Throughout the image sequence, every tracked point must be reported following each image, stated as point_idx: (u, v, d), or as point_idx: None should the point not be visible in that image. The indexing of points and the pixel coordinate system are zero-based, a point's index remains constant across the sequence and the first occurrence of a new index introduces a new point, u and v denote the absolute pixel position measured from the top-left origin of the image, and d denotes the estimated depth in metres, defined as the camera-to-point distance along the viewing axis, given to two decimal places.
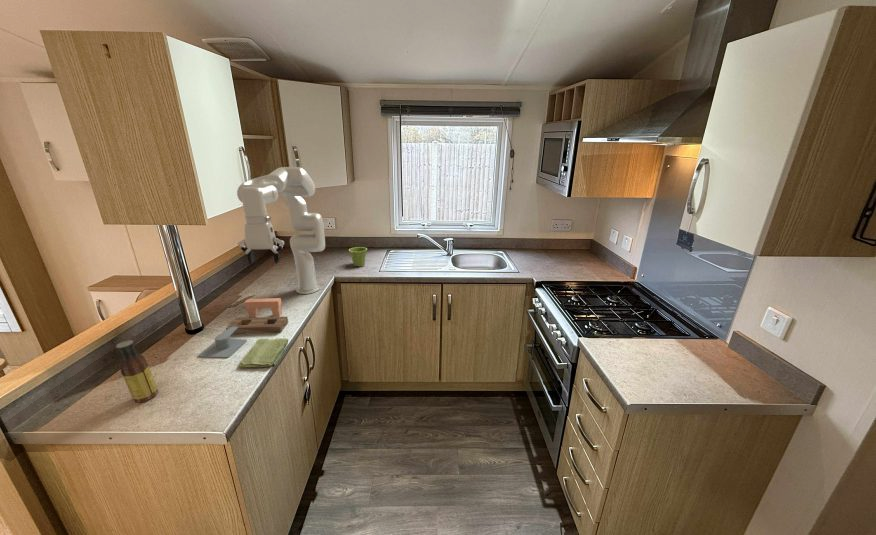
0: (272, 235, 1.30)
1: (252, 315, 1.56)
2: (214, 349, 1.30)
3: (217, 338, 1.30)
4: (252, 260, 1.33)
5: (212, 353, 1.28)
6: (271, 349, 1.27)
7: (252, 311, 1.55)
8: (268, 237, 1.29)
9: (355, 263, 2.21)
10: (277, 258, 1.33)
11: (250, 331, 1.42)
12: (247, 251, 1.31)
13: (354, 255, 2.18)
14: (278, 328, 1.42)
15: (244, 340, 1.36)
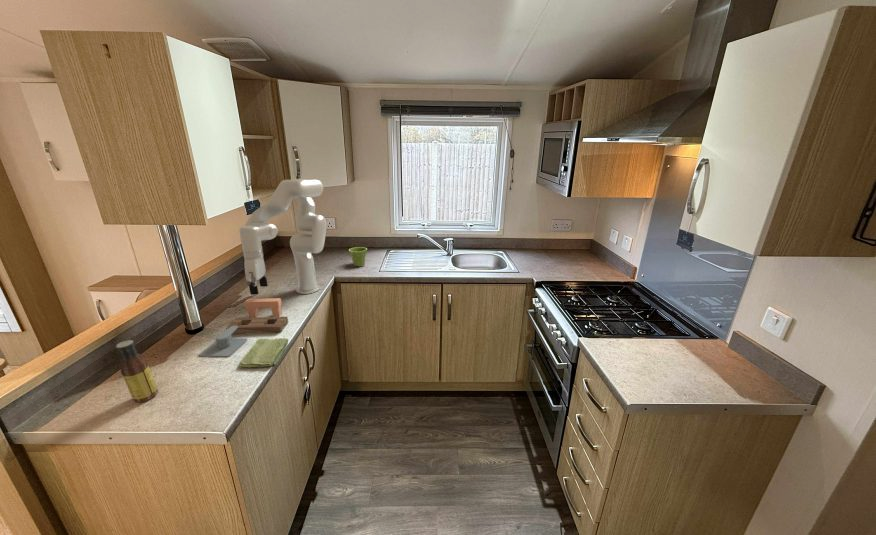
0: None
1: (252, 315, 1.56)
2: (215, 348, 1.31)
3: (218, 337, 1.30)
4: None
5: (213, 352, 1.28)
6: (271, 349, 1.27)
7: (252, 311, 1.55)
8: (264, 265, 1.53)
9: (355, 263, 2.21)
10: None
11: (250, 331, 1.42)
12: (255, 283, 1.46)
13: (354, 255, 2.18)
14: (278, 328, 1.42)
15: (245, 339, 1.37)
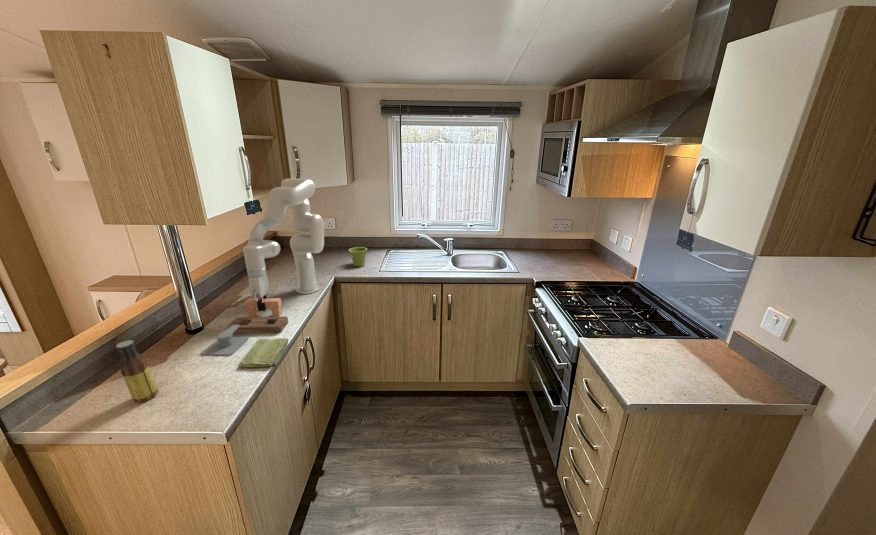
0: None
1: (252, 315, 1.56)
2: (216, 347, 1.32)
3: (219, 336, 1.31)
4: None
5: (215, 351, 1.29)
6: (271, 349, 1.27)
7: (252, 311, 1.55)
8: None
9: (355, 263, 2.21)
10: None
11: (250, 331, 1.42)
12: None
13: (354, 255, 2.18)
14: (278, 328, 1.42)
15: (246, 338, 1.38)
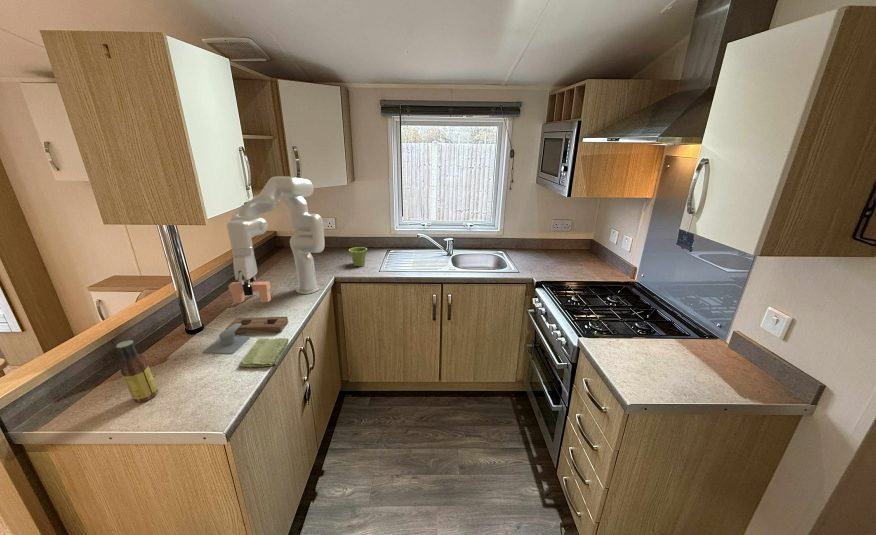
0: None
1: (237, 300, 1.40)
2: (219, 345, 1.33)
3: (222, 334, 1.32)
4: None
5: (217, 349, 1.30)
6: (272, 349, 1.27)
7: (237, 296, 1.39)
8: (255, 263, 1.41)
9: (355, 263, 2.21)
10: None
11: (250, 331, 1.42)
12: (249, 284, 1.37)
13: (354, 255, 2.18)
14: (278, 328, 1.42)
15: (248, 336, 1.39)
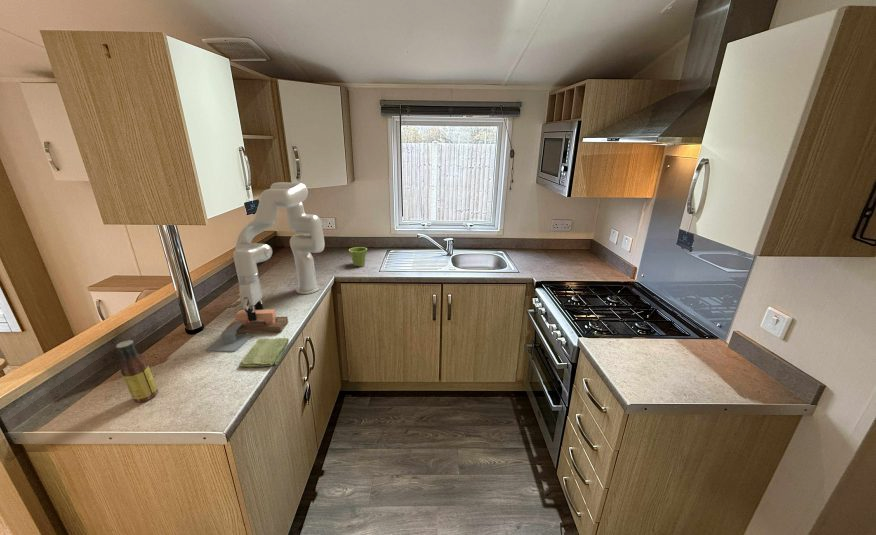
0: None
1: None
2: (221, 343, 1.34)
3: (224, 333, 1.33)
4: None
5: (219, 347, 1.32)
6: (272, 348, 1.27)
7: (244, 324, 1.44)
8: (260, 288, 1.45)
9: (355, 263, 2.21)
10: None
11: (250, 331, 1.42)
12: (253, 309, 1.40)
13: (354, 255, 2.18)
14: (278, 328, 1.42)
15: (250, 335, 1.40)
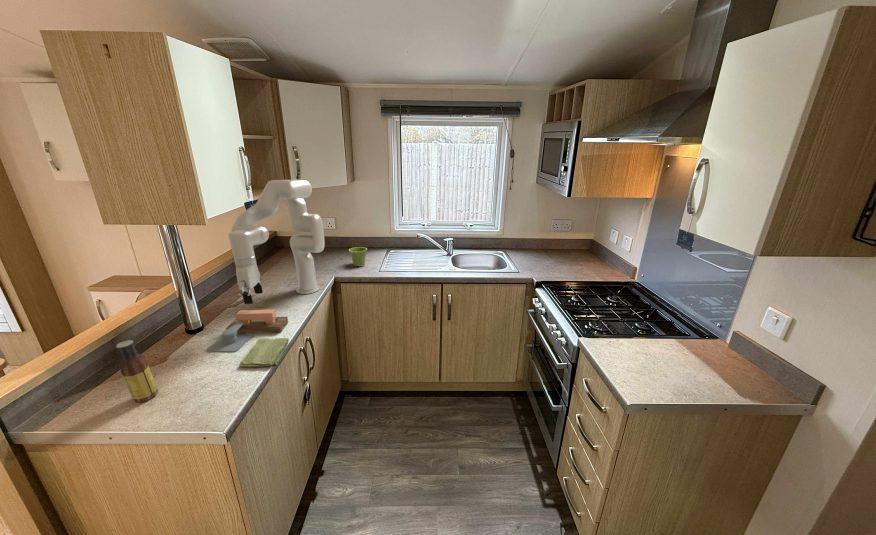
0: None
1: None
2: (221, 344, 1.34)
3: (224, 333, 1.33)
4: None
5: (220, 347, 1.31)
6: (272, 348, 1.27)
7: (244, 324, 1.44)
8: (258, 271, 1.43)
9: (355, 263, 2.21)
10: None
11: (250, 331, 1.42)
12: (249, 292, 1.36)
13: (354, 255, 2.18)
14: (278, 328, 1.42)
15: (250, 335, 1.40)
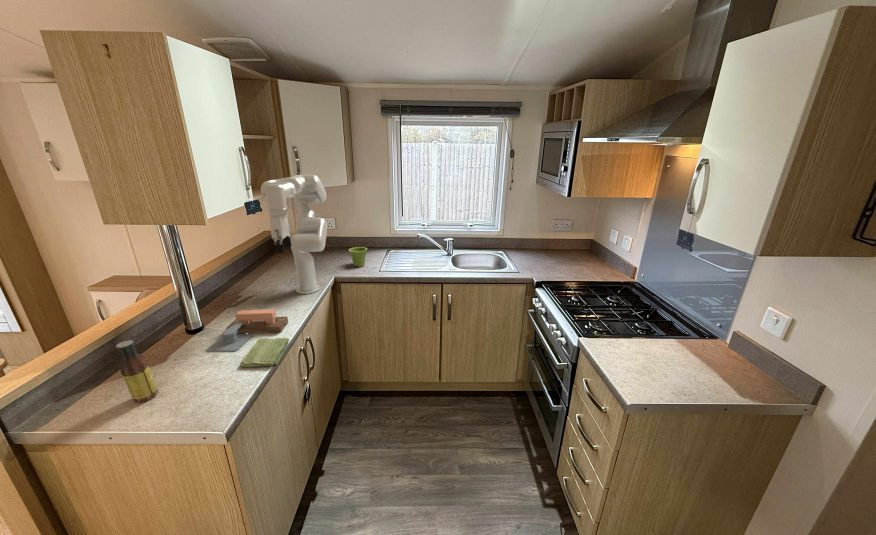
0: None
1: None
2: (222, 343, 1.34)
3: (224, 332, 1.33)
4: None
5: (220, 347, 1.32)
6: (272, 348, 1.27)
7: (244, 324, 1.44)
8: (288, 224, 1.54)
9: (355, 263, 2.21)
10: None
11: (250, 331, 1.42)
12: (281, 241, 1.48)
13: (354, 255, 2.18)
14: (278, 328, 1.42)
15: (250, 334, 1.40)
